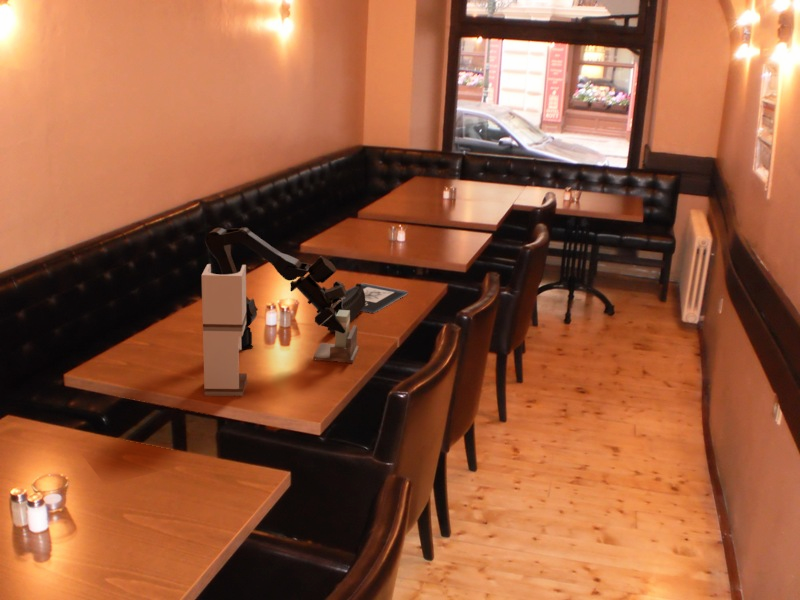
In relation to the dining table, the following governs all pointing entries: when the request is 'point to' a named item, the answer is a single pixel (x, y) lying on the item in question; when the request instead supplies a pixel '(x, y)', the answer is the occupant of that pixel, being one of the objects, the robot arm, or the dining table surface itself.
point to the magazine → (354, 302)
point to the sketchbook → (378, 297)
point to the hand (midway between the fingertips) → (346, 327)
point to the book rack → (339, 350)
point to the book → (344, 320)
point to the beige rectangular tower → (223, 331)
